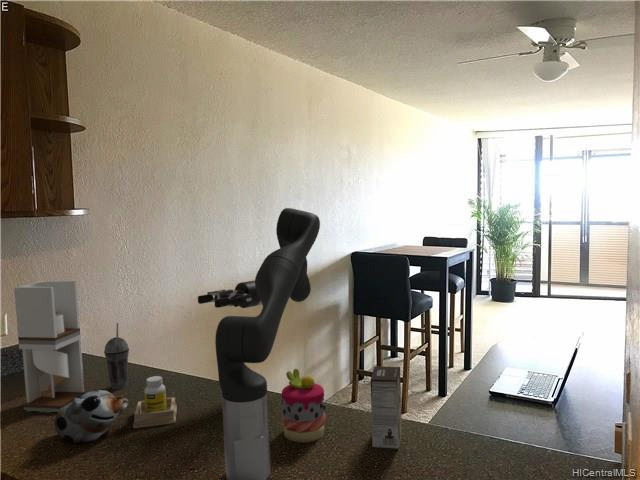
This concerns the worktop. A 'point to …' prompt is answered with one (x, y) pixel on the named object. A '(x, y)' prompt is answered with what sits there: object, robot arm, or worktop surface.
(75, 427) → the lucky cat figurine
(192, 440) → the worktop surface
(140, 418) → the birch dock
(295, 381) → the cake
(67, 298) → the white shelf stand
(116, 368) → the beverage cup
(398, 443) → the coffee box
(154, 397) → the supplement bottle
